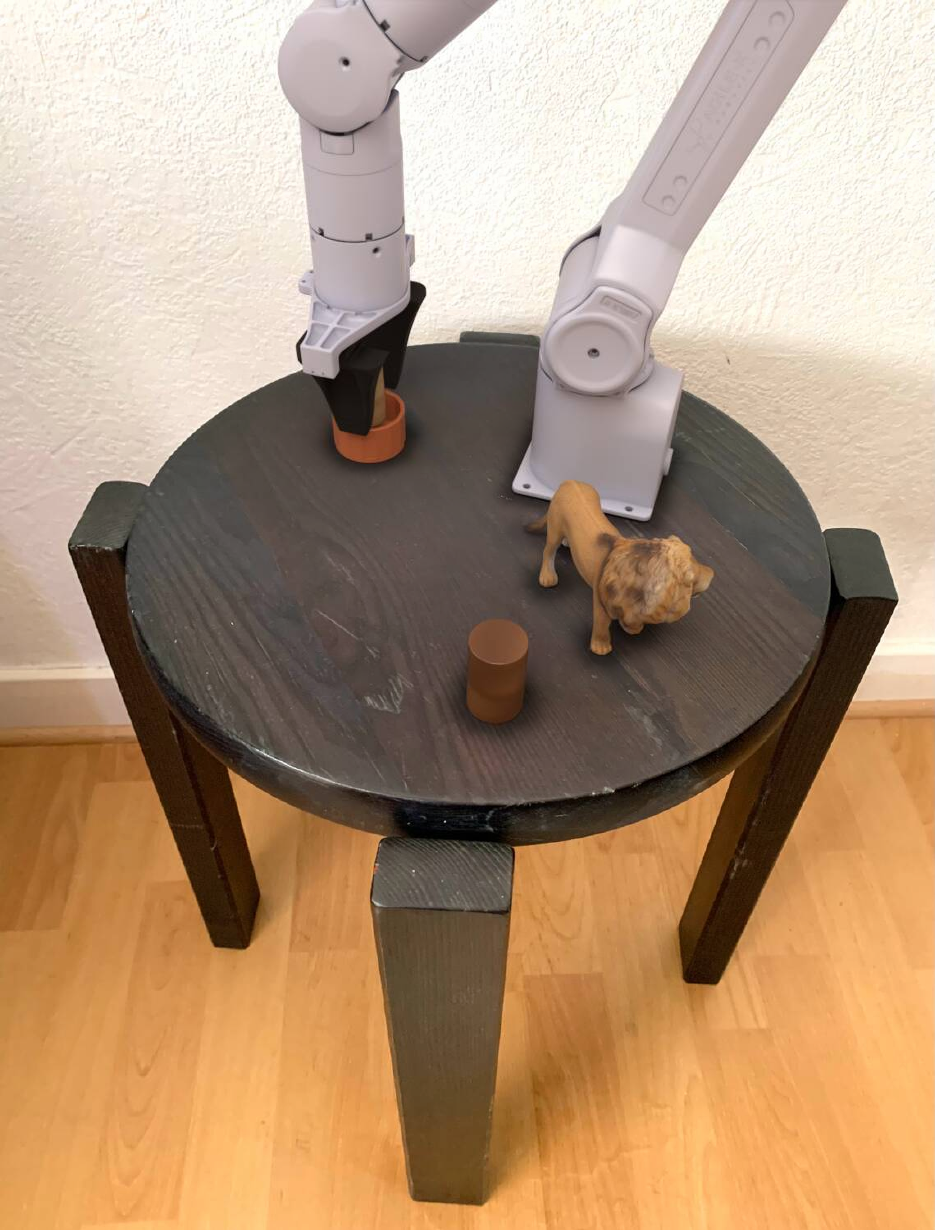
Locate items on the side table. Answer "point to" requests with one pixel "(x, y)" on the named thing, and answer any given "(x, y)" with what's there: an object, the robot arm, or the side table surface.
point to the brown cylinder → (496, 670)
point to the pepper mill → (379, 402)
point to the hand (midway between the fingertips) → (369, 407)
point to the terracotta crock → (376, 435)
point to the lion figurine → (618, 565)
